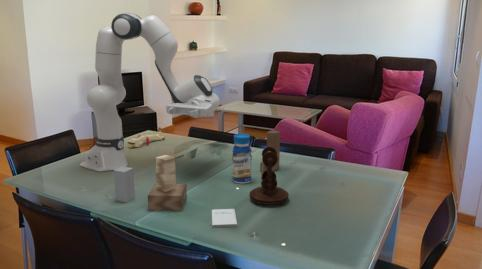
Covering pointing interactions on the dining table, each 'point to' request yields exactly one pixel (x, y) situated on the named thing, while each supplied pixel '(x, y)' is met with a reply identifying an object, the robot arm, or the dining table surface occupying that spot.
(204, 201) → the dining table surface
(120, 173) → the grey block
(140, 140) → the cat figure
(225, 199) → the dining table surface
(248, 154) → the beverage bottle
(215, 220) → the external hard drive
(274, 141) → the wooden block
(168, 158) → the maple block
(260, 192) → the dark brown tall piece
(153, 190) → the walnut base block
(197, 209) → the dining table surface
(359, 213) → the dining table surface
